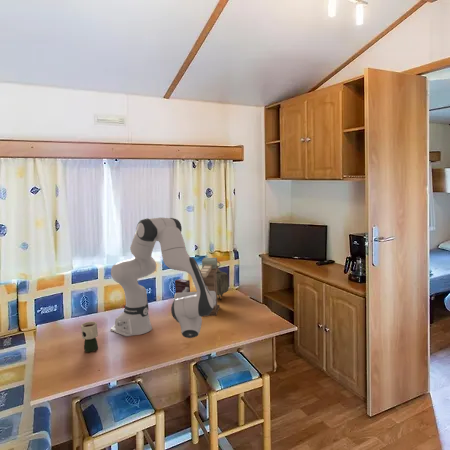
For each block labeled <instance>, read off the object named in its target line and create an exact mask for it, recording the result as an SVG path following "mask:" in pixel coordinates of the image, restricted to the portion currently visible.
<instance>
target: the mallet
mask: <svg viewBox="0 0 450 450" xmlns="http://www.w3.org/2000/svg"><path fill="white" fill-rule="evenodd" d="M217 261H218V257H203V258H202V260H201V265H202V266H201V267H202V268H201V269H202V270H201V269H200V270H201V274H202V276H203V278H206V277H207V276H208V274H209V273H210V271H211V270H212V269H216V267H217V266H218V262H217Z"/></svg>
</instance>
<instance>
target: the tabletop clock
mask: <svg viewBox="0 0 450 450" xmlns="http://www.w3.org/2000/svg"><path fill="white" fill-rule="evenodd" d="M217 264H219V265H217V266H218V270H217V272H216V281H217V300H221V299H222V298H221V297H222V296H223V295H224V294H226V293H228V291H229V287H230V282H229V275H228V273H227V272H225V271H222V270H220V266H221V263H220V261H218V260H217Z"/></svg>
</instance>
